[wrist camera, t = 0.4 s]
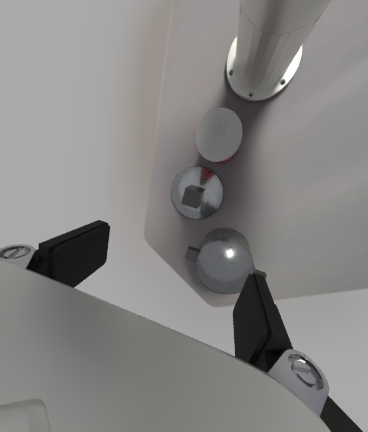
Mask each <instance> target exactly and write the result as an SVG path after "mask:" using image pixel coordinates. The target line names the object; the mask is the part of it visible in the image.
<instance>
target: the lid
mask: <svg viewBox="0 0 368 432" xmlns="http://www.w3.org/2000/svg"><path fill="white" fill-rule="evenodd" d="M171 196H172V201H173V203H174V205H175V207H176V208H177V210H178V211H179V212H180V213H182V214H183V215H185V216H187V217H189V218H193V219H202V218H206V217H208V216H210V215H212V214H213V213H214V212H215V211H216V210H217V209H218V208H219V206H220V204H221V202H222V199H223V187H222V184H221V181H220V180H219V178H218V177H217V175H216V174H215V173H214V172H212V171H211V170H209V169H207V168H204V167H190V168H187V169H185V170H183V171H182V172H180V173H179V174H178V175H177V177H176V178H175V180H174V182H173V184H172V189H171Z"/></svg>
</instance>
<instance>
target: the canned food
mask: <svg viewBox="0 0 368 432" xmlns="http://www.w3.org/2000/svg"><path fill="white" fill-rule="evenodd" d="M242 135H243V129H242V124H241V121H240V119H239V117H238V116H237V114H236V113H235V112H234V111H232V110H230V109H228V108H224V107H217V108H214V109H211V110H209V111H208V112H206V113H205V114H204V115H203V116H202V117H201V119H200V120H199V122H198V124H197V126H196V129H195V137H194V139H195V145H196V148H197V150H198V152H199V153H200V154H201V156H202V157H204V158H205V159H207V160H209V161H212V162H216V163H221V162H225V161H227V160H229V159H230V158H231V157H232V156H233V155H234V154H235V152H236V151H237V150H238V148H239V146H240V144H241V140H242Z"/></svg>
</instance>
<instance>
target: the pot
mask: <svg viewBox="0 0 368 432" xmlns="http://www.w3.org/2000/svg"><path fill="white" fill-rule="evenodd" d="M186 258H189V259H191V260H194V261H196V272H197V275H198V277H199V279H200V281H201V282H202V283H203V284H204V285H205V286H206V287H207V288H209V289H210V290H212V291H214V292H217V293H221V294H235V293H239V292H241V291H242V288H243V286H244V284H245V282H246V279H247V277H248V275H249V274H252V273H257V274H260V275H263V276H264V277H265V279H266V277H267V276H266V273H265V272H262V271H259V270H256V269H255V267H254V263H253V260H252V256H251V252H250V249H249V245H248V242H247V240H246V239H245V238H244V236H243V235H241V234H240V233H239V232H237V231H235V230H232V229H228V228H220V229H216V230H213V231H211V232H210V233H209V234H208V235H206V237H205V238H204V240H203V242H202V245H201V248H200V250H199V249H196V248H194V247H191V246H189V248H188V250H187V254H186Z"/></svg>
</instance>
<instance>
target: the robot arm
mask: <svg viewBox="0 0 368 432" xmlns="http://www.w3.org/2000/svg"><path fill="white" fill-rule="evenodd" d="M330 1H331V0H240V7H239V20H238V32H237V36H236V37H235V39H234V41H233V43H232V45H231V47H230V50H229V53H228V57H227V66H226V70H227V78H228V82H229V84H230V87H231V88H232V90H233V91H234V93H235V94H237V95H238V96H239V97H241V98H242V99H244V100H248V101H262V100H266V99H268V98H271V97H272V96H274V95H276V94H277V93H279V92H280V91H281V90H282V89H283V88H284V87H285V86H286V85H287V84H288V83H289V81H290V80H291V79H292V77H293V76H294V74H295V72H296V70H297V68H298V66H299V63H300V60H301V55H302V45H303V44H304V42H305V40H306V39H307V37H308V36H309V34H310V33H311V31H312V29H313V28H314V26H315V25H316V23H317V21H318V20H319V18H320V17H321V15H322V13H323V12H324V10H325V9H326V7H327V5H328V4H329V2H330ZM230 74H233V75H230ZM280 83H283V85H281V84H280ZM249 95H252V97H249ZM109 232H110V226H109V225H108V223H106V222H104V221H101V220H98V221H95V222H93V223H90V224H88V225H85V226H83V227H80V228H78V229H75V230H72V231H70V232H67V233H65V234H62V235H60V236H57V237H55V238H52V239H50V240H47V241H44V242H42V243H39V249H38V250H36V251H35V248H34V247H32V246H29V245H22V244H20V245H11V246H7V247H4V248H1V249H0V432H363V431H362V430H361V429H360V428H359V427H358V426H357V425H356V424H355V423H354V422H353V421H352V420H351V419H350V418H349V417H348V416H347V415H346V414H345V413H344V412H343V411H342V410H341V409H340V407H339V406H337V404H335V402H334V401H333V400H332V399H331V398H330V397H329V396H328V393H329V386H328V382H327V380H326V378H325V376H324V374H323V373H322V371H321V370H320V369H319V367H318V366H317V365H316V364H315V363H314V362H313V361H312V360H311V359H310V358H309V357H307V356H306V355H305V354H303V353H301V352H299V351H296V350H294V349H293V347H292V345H291V342H290V339H289V337H288V334H287V332H286V329H285V326H284V324H283V321H282V319H281V316H280V314H279V311H278V308H277V306H276V305H275V304H274V301H273V299H272V296H271V293H270V291H269V288H268V285H267V283H266V280H265V277H264V276H263V275H260V274H257V273H252V274H249V275H248V277H247V279H246V282H245V284H244V286H243V288H242V291H241V293H240V295H239V298H238V300H237V302H236V305H235V307H234V311H233V325H234V342H235V356H232V355H230V354H228V353H226V352H224V351H222V350H219V349H217V348H215V347H212V346H210V345H208V344H205V343H203V342H201V341H199V340H196V339H194V338H191V337H189V336H187V335H184V334H182V333H180V332H177V331H175V330H172V329H170V328H168V327H165V326H163V325H161V324H159V323H156V322H154V321H152V320H149V319H147V318H145V317H142V316H140V315H137V314H135V313H133V312H130V311H128V310H126V309H123V308H120V307H118V306H116V305H114V304H111V303H109V302H106V301H104V300H101V299H99V298H97V297H94V296H92V295H90V294H87V293H85V292H82V291H80V290H77V289H75V288H74V287H75V286H77V285H78V284H79V283H81V282H82V281H83V280H84V279H86V278H87V277H88V276H90V275H91V274H92V273H94V272H95V271H96V270H97V269H99V268H100V267H101V266H103V265H104V263H105V262H106V259H107V250H108V241H109Z"/></svg>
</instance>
